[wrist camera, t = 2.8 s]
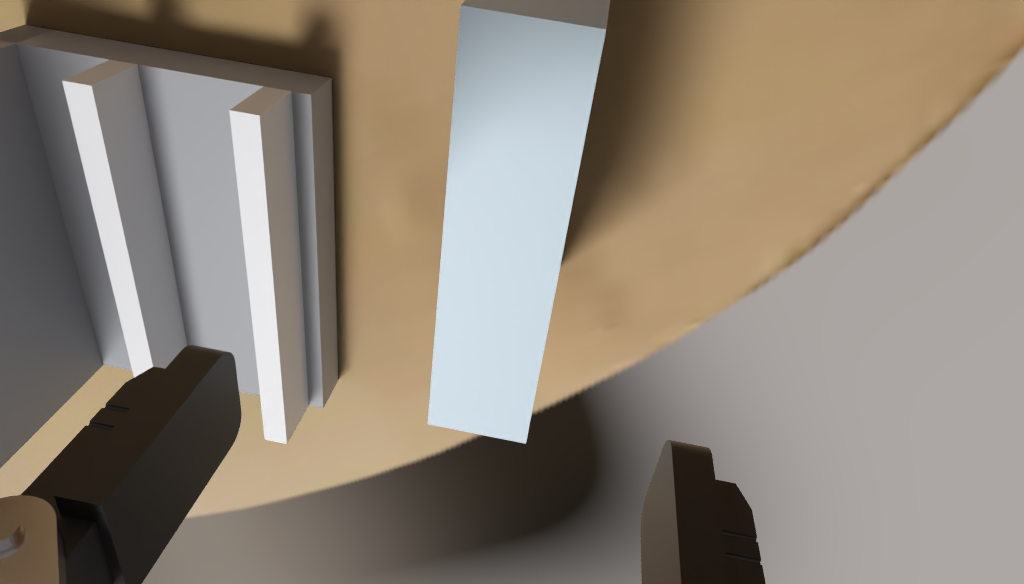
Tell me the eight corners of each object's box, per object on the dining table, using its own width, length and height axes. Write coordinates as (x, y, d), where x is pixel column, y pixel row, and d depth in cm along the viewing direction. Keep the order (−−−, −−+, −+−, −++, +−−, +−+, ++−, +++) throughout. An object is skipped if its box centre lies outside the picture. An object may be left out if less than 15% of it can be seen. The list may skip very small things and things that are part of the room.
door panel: (524, -59, 22) (460, 5, 14) (616, -44, 22) (606, 29, 14) (486, 256, 29) (427, 424, 21) (556, 269, 29) (525, 443, 21)
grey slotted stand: (24, 24, 26) (-452, 174, 15) (331, 77, 26) (86, 277, 14) (105, 334, 35) (-157, 584, 23) (338, 380, 34) (187, 660, 23)
